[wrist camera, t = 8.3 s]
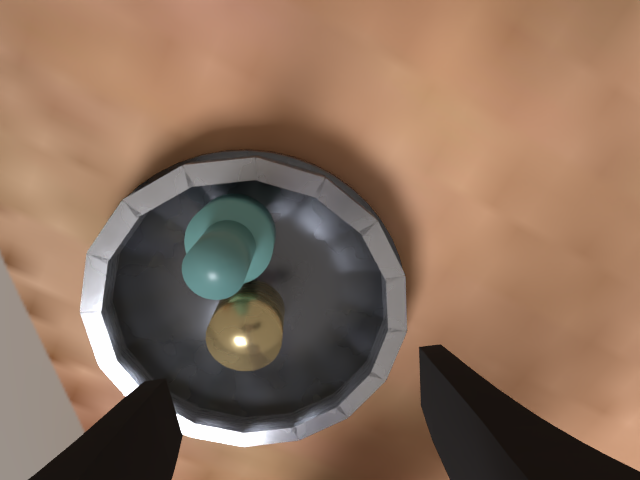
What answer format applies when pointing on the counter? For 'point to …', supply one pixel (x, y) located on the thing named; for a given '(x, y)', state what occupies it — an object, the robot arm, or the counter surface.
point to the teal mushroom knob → (227, 245)
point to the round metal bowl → (249, 302)
